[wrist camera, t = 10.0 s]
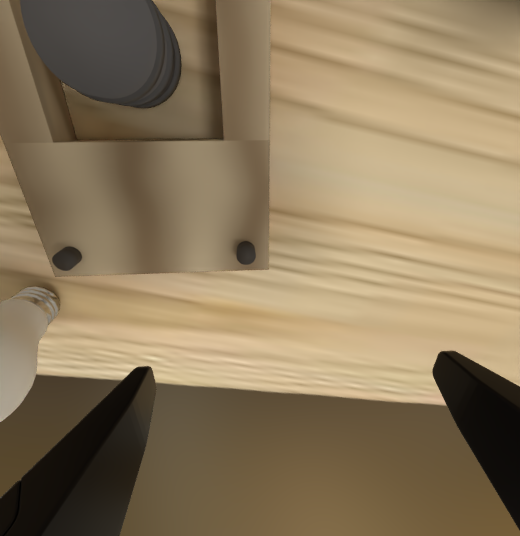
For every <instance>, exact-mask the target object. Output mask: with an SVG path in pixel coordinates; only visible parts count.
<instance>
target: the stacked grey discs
mask: <svg viewBox="0 0 520 536" xmlns="http://www.w3.org/2000/svg"><path fill="white" fill-rule="evenodd" d="M20 6H21V13H22V18H23V22H24V26H25V29H26V31H27V34H28V37H29V39H30V41H31V43H32V45H33V47H34V49H35V50H36V52H37V54H38V55H39V57H40V58H41V60H42V61H43V62H44V64H45V65H46V66H47V67H48V68H49V70H50V71H51V72H52V73H53V74H54V75H56V76H57V77H58V78H59V79H60V80H61V81H63V82H64V83H65V84H67V85H68V86H70V87H71V88H73V89H75V90H77V91H78V92H80V93H81V94H83V95H85V96H87V97H89V98H92V99H95V100H97V101H102V102H107V103H113V104H119V105H125V106H132V107H137V108H150V107H155V106H157V105H160V104H161V103H163V102H165V101H166V100H167V99H168V98H169V97H170V96H171V95H172V94H173V93H174V91H175V90H176V88H177V86H178V83H179V80H180V75H181V55H180V49H179V45H178V42H177V39H176V37H175V34H174V32H173V30H172V28H171V27H170V25H169V24H168V22H167V21H166V19H165V18H164V17H163V15H162V14H161V13H160V11H159V10H158V8H157V7H156V5H155V4H154V3H153V1H152V0H20Z"/></svg>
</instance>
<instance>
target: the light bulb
mask: <svg viewBox="0 0 520 536" xmlns="http://www.w3.org/2000/svg"><path fill="white" fill-rule="evenodd" d="M59 310H60V302H59V300H58V298H57V297H56V295H55V294H54V293H53V292H51V291H49V290H48V289H46V288H42V287H38V286H32V287H26V288H24V289H22V290H20V292H18V293H16V294H15V295H14V296H12V297H11V299H7V300H4V301H1V302H0V422H1V421H3V420H4V419H5V418H6V417H8V416H9V415H10V414H11V413H12V412H13V411H14V410H15V409H16V408H17V407H18V406H19V405H20V404H21V403H22V401H23V399H24V398H25V396H26V395H27V393H28V392H29V390H30V389H31V387H32V384H33V382H34V379H35V375H36V371H37V351H38V344H39V341H40V339H41V338H42V336H43V335H44V334H45V332H46V330H47V327H48V325H49V324H50V323H51V322H52V321H53V319H55V318H56V316H57V315H58V311H59Z"/></svg>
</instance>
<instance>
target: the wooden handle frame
mask: <svg viewBox="0 0 520 536" xmlns="http://www.w3.org/2000/svg"><path fill="white" fill-rule="evenodd" d="M216 16H217V33H218V50H219V67H220V83H221V100H222V117H223V133H224V139H154V140H76V136H75V132H74V129H73V125H72V122H71V118H70V114H69V111H68V107H67V104H66V100H65V96H64V93H63V89H62V85H61V82H60V79H59V78H58V77H57V76H56V75H54V74H53V73H52V72H51V71H50V70H49V68H48V67H47V66H46V65H45V64H44V62H43V61H42V60H41V58H40V57H39V55H38V54H37V52H36V50H35V49H34V47H33V45H32V43H31V41H30V39H29V37H28V34H27V31H26V29H25V26H24V22H23V18H22V13H21V6H20V0H0V134H1V137H2V140H3V142H4V145H5V147H6V150H7V153H8V155H9V158H10V160H11V163H12V166H13V168H14V171H15V173H16V176H17V179H18V181H19V184H20V186H21V189H22V192H23V194H24V197H25V199H26V202H27V204H28V207H29V210H30V212H31V215H32V217H33V220H34V223H35V225H36V228H37V230H38V233H39V236H40V238H41V241H42V243H43V246H44V249H45V251H46V254H47V256H48V259H49V262H50V264H51V267H52V269H53V272H54V275H55V277H62V276H92V275H121V274H150V273H179V272H208V271H238V270H267V269H269V156H270V21H271V0H216Z"/></svg>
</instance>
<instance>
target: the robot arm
mask: <svg viewBox="0 0 520 536" xmlns="http://www.w3.org/2000/svg"><path fill="white" fill-rule="evenodd" d="M433 377H434V379H435V381H436V383H437V386H438V388H439V390H440V392H441V394H442V396H443V398H444V400H445V402H446V404H447V406H448V408H449V410H450V412H451V414H452V417H453V419H454V421H455V422H456V424H457V426H458V428H459V430H460V432H461V433H462V435H463V437H464V438H465V440H466V442H467V443H468V445H469V446H470V448H471V450H472V452H473V453H474V455H475V457H476V458H477V460H478V462H479V463H480V465H481V466H482V468H483V470H484V472H485V473H486V475H487V477H488V478H489V480H490V482H491V483H492V485H493V487H494V488H495V490H496V492H497V493H498V495H499V497H500V498H501V500H502V502H503V503H504V505H505V507H506V508H507V510H508V512H509V513H510V515H511V517H512V518H513V520H514V522H515V523H516V525H517V527H518V528H519V530H520V386H518V385H516V384H514V383H512V382H510V381H509V380H507V379H505V378H503V377H501V376H500V375H498V374H496V373H494V372H492V371H490V370H489V369H487V368H485V367H483V366H481V365H479V364H478V363H476V362H474V361H472V360H470V359H469V358H467V357H465V356H463V355H461V354H459V353H458V352H456V351H441V352H440V353H439V354H438V356H437V359H436V362H435V364H434V367H433ZM155 396H156V383H155V379H154V375H153V371H152V368H151V367H149V366H144V367H137V368H135V369H134V370H133V371H132V372H131V373H130V374H129V375H128V376H127V377H126V378H124V379H123V380H122V381H121V382H120V383H119V384H118V385H117V386H116V387H115V388H114V389H113V390H112V391H111V392H110V393H109V394H108V395H107V396H106V397H105V398H104V399H103V400H102V401H101V402H100V403H98V405H96V406H95V407H94V408H93V409H92V410H91V411H90V412H89V413H88V414H87V415H86V416H85V417H84V418H83V419H82V420H81V421H80V422H79V423H78V424H77V425H76V426H75V427H74V428H73V429H72V430H70V431H69V432H68V433H67V434H66V435H65V436H64V437H63V438H62V439H61V440H60V441H59V442H58V443H57V444H56V445H55V446H54V447H53V448H52V449H51V450H50V451H49V452H48V453H47V454H46V455H44V456H43V457H42V458H41V459H40V461H38V462H37V463H36V464H35V465H34V466H33V467H32V468H31V469H30V470H29V471H28V472H27V473H26V474H25V475H24V476H23V477H22V479H21V480H19V481H17V482H16V483H15V484H14V485H13V486H12V487H11V488H10V489H9V490H8V491H7V492H6V493H5V494H4V495H3V496H2V497H1V498H0V536H119V535H120V532H121V529H122V525H123V522H124V519H125V515H126V512H127V509H128V505H129V502H130V498H131V495H132V491H133V488H134V485H135V482H136V478H137V475H138V471H139V468H140V464H141V461H142V458H143V455H144V451H145V447H146V443H147V437H148V433H149V428H150V422H151V417H152V412H153V406H154V401H155Z"/></svg>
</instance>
